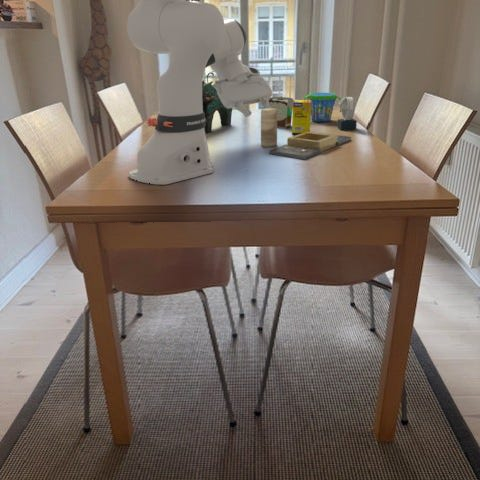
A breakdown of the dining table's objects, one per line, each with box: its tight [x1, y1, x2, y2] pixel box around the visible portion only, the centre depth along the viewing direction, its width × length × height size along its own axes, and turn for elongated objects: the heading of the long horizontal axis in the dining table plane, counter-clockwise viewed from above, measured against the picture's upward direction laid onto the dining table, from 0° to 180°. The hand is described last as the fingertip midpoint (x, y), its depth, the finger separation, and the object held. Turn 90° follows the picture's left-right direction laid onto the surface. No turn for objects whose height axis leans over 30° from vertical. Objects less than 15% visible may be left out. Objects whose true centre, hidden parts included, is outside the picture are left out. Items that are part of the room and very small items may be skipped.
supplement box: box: [291, 99, 312, 136], centre depth 153 cm, size 6×6×11 cm
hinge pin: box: [260, 108, 278, 148], centre depth 138 cm, size 5×5×11 cm
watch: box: [337, 96, 358, 131], centre depth 159 cm, size 6×8×11 cm
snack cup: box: [302, 92, 342, 123], centre depth 174 cm, size 16×10×10 cm
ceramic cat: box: [202, 72, 233, 134], centre depth 163 cm, size 20×6×20 cm, turn 150°
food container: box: [268, 96, 295, 129], centre depth 167 cm, size 12×6×10 cm, turn 34°
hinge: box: [268, 131, 352, 160], centre depth 137 cm, size 29×12×3 cm, turn 142°
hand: (259, 113), depth 139 cm, fingers open, 8 cm apart
